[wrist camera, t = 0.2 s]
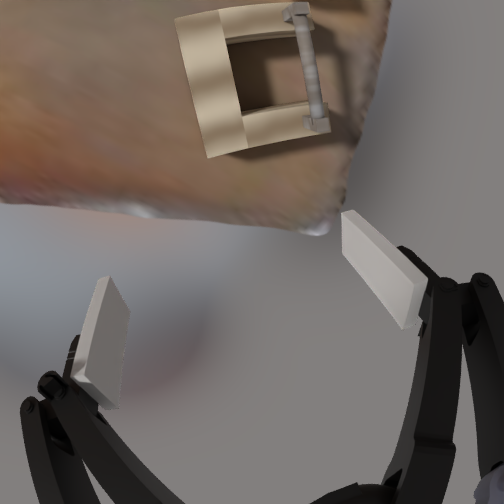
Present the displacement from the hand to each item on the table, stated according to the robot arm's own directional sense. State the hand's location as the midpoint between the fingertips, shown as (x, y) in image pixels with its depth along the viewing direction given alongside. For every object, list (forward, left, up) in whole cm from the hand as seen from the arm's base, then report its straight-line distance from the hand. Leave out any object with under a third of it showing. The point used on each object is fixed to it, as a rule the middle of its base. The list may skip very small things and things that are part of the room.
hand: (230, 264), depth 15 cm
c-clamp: (-10, +8, -27) cm, 30 cm away
